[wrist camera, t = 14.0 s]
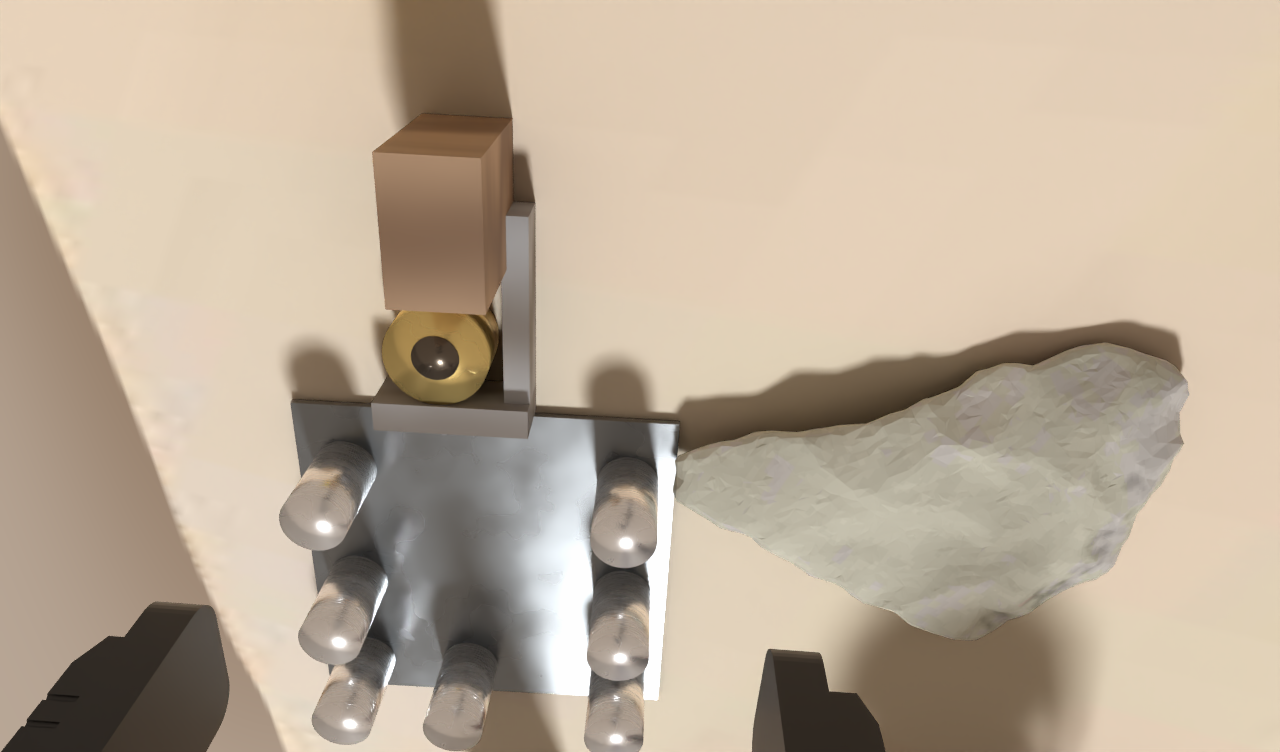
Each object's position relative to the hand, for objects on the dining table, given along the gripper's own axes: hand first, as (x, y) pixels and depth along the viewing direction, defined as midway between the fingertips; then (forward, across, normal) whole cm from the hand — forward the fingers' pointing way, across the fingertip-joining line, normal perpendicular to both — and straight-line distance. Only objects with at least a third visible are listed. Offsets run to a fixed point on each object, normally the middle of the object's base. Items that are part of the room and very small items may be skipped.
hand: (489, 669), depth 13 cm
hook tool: (+23, +5, +3) cm, 23 cm away
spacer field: (+22, +4, +17) cm, 28 cm away
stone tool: (+23, -14, +11) cm, 29 cm away
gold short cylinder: (+23, +6, +6) cm, 24 cm away
